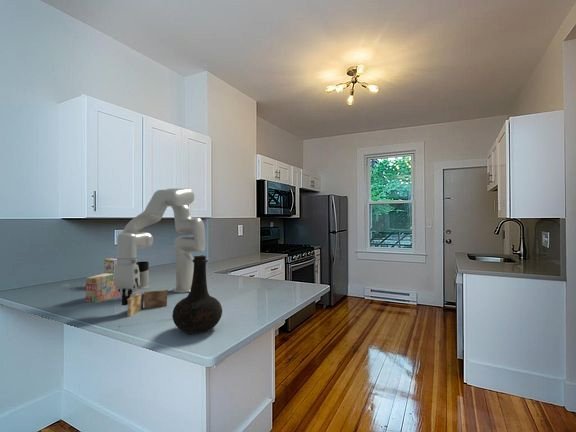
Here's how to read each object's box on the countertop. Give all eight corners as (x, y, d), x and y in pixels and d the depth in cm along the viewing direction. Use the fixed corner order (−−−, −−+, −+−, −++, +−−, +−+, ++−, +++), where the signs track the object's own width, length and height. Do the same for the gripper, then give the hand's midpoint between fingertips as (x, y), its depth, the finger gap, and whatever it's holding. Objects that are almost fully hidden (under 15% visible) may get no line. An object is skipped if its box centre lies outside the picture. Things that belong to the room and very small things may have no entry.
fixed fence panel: (166, 305, 145) (167, 289, 145) (167, 306, 143) (167, 290, 144) (138, 308, 140) (139, 292, 140) (138, 310, 138) (139, 292, 138)
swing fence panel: (138, 309, 138) (138, 292, 138) (141, 309, 138) (142, 292, 138) (126, 316, 128) (127, 299, 128) (130, 316, 128) (130, 299, 128)
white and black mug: (152, 286, 187) (152, 261, 187) (136, 291, 173) (136, 265, 173) (140, 285, 189) (140, 261, 189) (122, 290, 175) (123, 264, 175)
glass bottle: (161, 334, 111) (162, 257, 111) (193, 319, 128) (194, 252, 128) (202, 342, 105) (204, 260, 105) (230, 325, 122) (231, 254, 122)
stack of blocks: (117, 292, 172) (117, 270, 172) (127, 292, 171) (127, 270, 171) (85, 302, 151) (85, 277, 151) (96, 303, 150) (96, 278, 150)
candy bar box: (103, 285, 187) (103, 258, 187) (111, 284, 191) (112, 258, 191) (113, 288, 181) (113, 260, 181) (121, 286, 185) (121, 259, 185)
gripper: (147, 261, 134) (146, 303, 134) (119, 259, 138) (118, 300, 138) (135, 263, 127) (134, 308, 127) (105, 262, 130) (104, 305, 130)
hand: (126, 304), depth 132 cm, fingers closed
